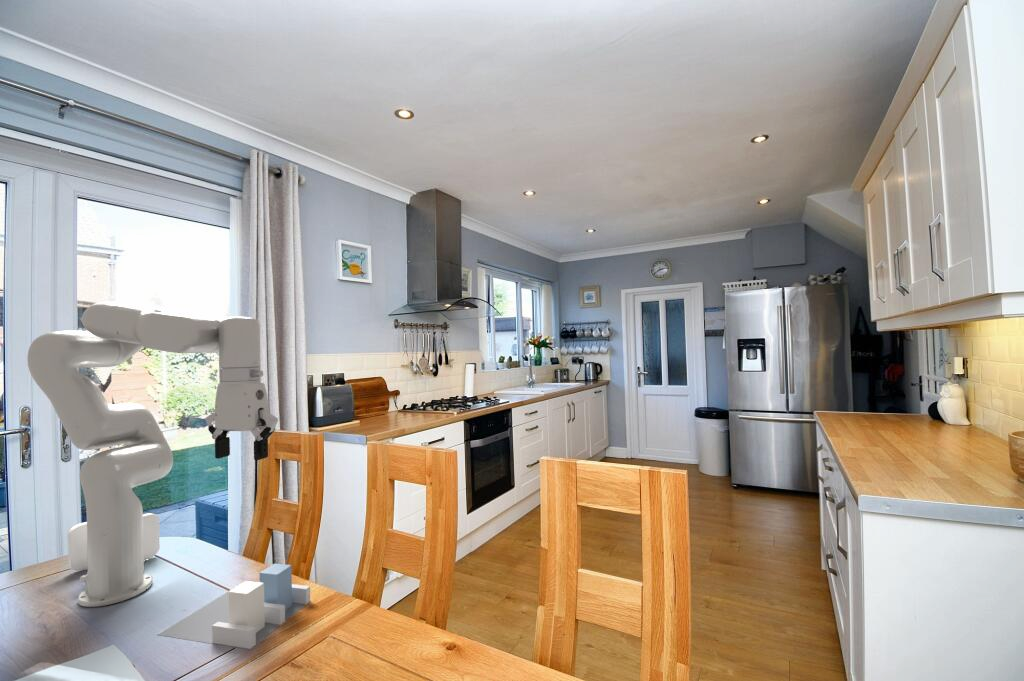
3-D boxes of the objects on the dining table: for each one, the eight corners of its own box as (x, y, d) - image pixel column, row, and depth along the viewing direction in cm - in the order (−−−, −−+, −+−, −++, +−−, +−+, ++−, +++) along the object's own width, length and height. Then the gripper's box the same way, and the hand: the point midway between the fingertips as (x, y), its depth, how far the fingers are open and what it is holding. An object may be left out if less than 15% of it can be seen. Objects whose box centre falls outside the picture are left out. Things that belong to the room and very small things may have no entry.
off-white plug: (246, 623, 89) (246, 580, 89) (264, 626, 88) (264, 582, 88) (229, 636, 85) (228, 591, 85) (247, 639, 84) (247, 593, 84)
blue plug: (260, 614, 92) (259, 572, 92) (275, 603, 96) (274, 563, 96) (277, 616, 91) (277, 574, 91) (292, 605, 95) (291, 565, 95)
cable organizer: (88, 583, 110) (87, 532, 110) (66, 574, 114) (65, 525, 115) (160, 556, 123) (159, 511, 123) (138, 549, 128) (137, 506, 128)
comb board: (157, 643, 86) (157, 618, 86) (230, 597, 102) (229, 576, 102) (249, 658, 81) (249, 631, 81) (311, 607, 97) (310, 585, 97)
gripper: (288, 374, 101) (289, 455, 101) (221, 375, 105) (222, 452, 105) (261, 377, 94) (262, 464, 94) (191, 377, 98) (192, 460, 98)
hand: (241, 457), depth 99 cm, fingers open, 9 cm apart
